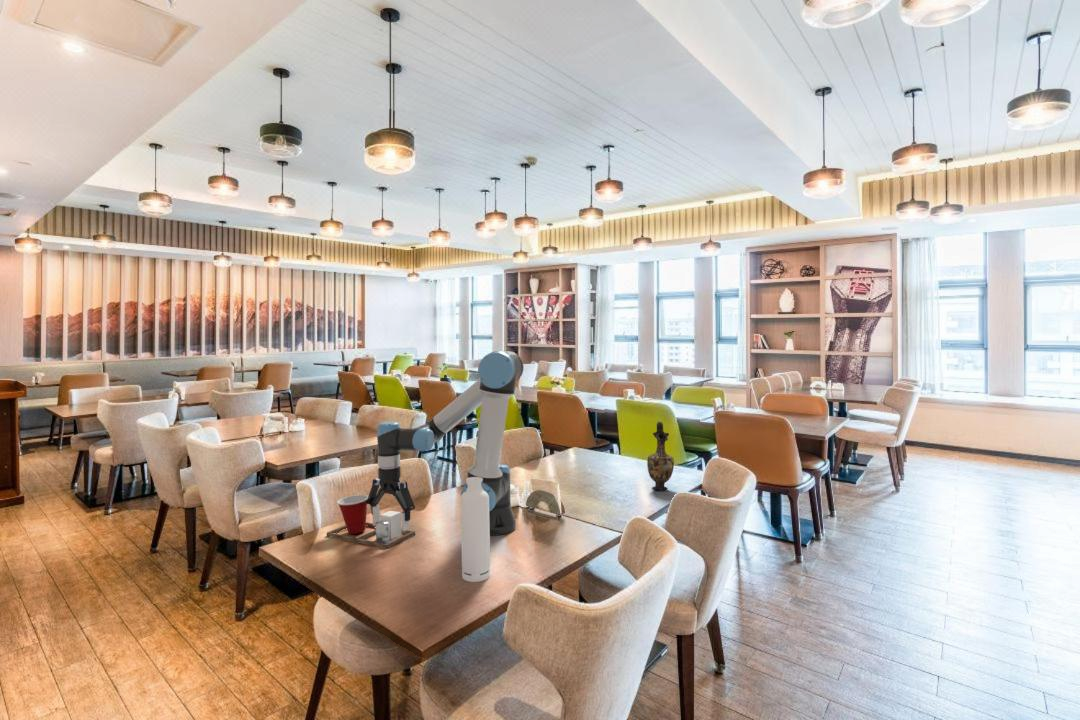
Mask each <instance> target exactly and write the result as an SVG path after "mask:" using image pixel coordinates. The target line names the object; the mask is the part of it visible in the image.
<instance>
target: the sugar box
mask: <svg viewBox="0 0 1080 720" xmlns="http://www.w3.org/2000/svg"><path fill="white" fill-rule="evenodd" d="M381 520H388V521H389V529H390V541H393V540H395V538H396V539H397V538H399V537H402V536H403V533H402V532H401V529H402V512H400V511H396V510H395V511H393V510H389V511H386V512H384V513H380V521H381Z"/></svg>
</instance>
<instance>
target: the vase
mask: <svg viewBox="0 0 1080 720" xmlns="http://www.w3.org/2000/svg"><path fill="white" fill-rule="evenodd" d="M652 435H653V436H654V438H656V450H655V452H654V453H651V454H650V455H648V457H647V463H646V464H647V465H646V466H647V472H648V475H649V477H650V479H651V480H652V481H653V482H654V484H655V485H654V486H652V487H651V489H652V490H653V489H654V490H653V491H655V490H659V491H658V492H666V491H665V490H667V489H668V487H667V486H665V484H666V483H667V482H669V480H670V479H671V478H672V475H673V472H674V468H675V467H674V466H675V461H674V457H673V456H671V455H670V454H668V453H667V452H666V442H667V441H668V440H669V438H668V437H669V436H670V434H669V432H664V424H663V422H662V421H657V422H656V431H655V432H654V431H653V432H652ZM668 490H669V489H668ZM668 490H667V491H668Z"/></svg>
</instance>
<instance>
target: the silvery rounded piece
mask: <svg viewBox="0 0 1080 720" xmlns="http://www.w3.org/2000/svg"><path fill="white" fill-rule="evenodd" d="M375 526H376V528H375V530H376V535H375V542H377V543H382V544H387V543H389V542H391V540H390V529H389V521H388V520H381V521H377V522H376V523H375Z"/></svg>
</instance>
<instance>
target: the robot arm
mask: <svg viewBox="0 0 1080 720" xmlns="http://www.w3.org/2000/svg"><path fill="white" fill-rule="evenodd" d="M477 367H478V368H477V375H478V378H479V379H477V380H476V381H475V382H474V383H473V384H471V385H470V386H468V388H466V390H464V391H463V392H462V393H461V394H459V396H457V397H455V399H453V401H451V402H450V403H449V404H448V405H447V406H446V407H443V409H441V410H440V411H439V412H438V413H437V414H435V415H434V416H433V417H432V418H431V419H430V420H428V421H427V422H426V423H425V424H422V425H420V426H417V427H413V428H401V425H400V423H399V422H398V421H383V422H380V423H379V424H377V432H376V434H377V435H376V438H377V439H376V440H377V467H378V469H377V475H378V478H377V477H376V478H374V479H372V486H371V489H370V492H369V493H368V499H367V502H366V503H367V505H370V511H371V516H372V523H373V525H374V526H375V523H376V522H377V521H380V515H381V511H380V510H381V508H380V507H381V506H380V504H379V503H380V501H381V500H382V498H383V497H384V496H385V495H386V494H389V495H392V496H393V497H395V499H396V500H397V502H398V504H399V505H400V507H401V509H402V512H401V529H402V531H406V530H410V520H411V511H413V510H415V509H416V506H415V503H414V501H413V498H412V496H411V493H410V490H409V487H408V486H409V485H408V481H403V482H401V481H400V479H401V475H402V474H401V473H402V472H401V466H400V465H401V451H413V452H414V451H416V452H424V451H425V452H426V451H427V452H428V451H430V450H432V448H433V447H434V445H435V443H437V442H439V441H440V440H442V439H443V438H444V436H445V435H446V434H447V433H449V431H451V430H452V429H454V427H456V426H457V425H458V424H459V423H460V422H462V421H463V420H464V419H466V418H467V417H468V416H469V415H470V414H471V413H473V412H474V411H475V410H476V409H477V408H479V407H481V408H480V416H479V423H478V430H477V435H476V436H477V437H476V444H475V452H474V459H473V463H472V464H473V465H472V466H470V467H469V468H468V470H467V476H466V479H467V478H470V477H481V478H483V481H482V482H481V486H482V488H483V491H485V492H487V494H488V496H489V527H490V536H499V535H501V536H502V535H506V534H509V533H512V532H513V531H514V530H515V529H516V528H517V522H516V519H515V515H514V513H513V509H512V506H511V475H512V474H511V469H510V467H509V465H507V464H501V455H502V448H503V442H504V436H505V435H504V434H505V428H506V421H507V420H506V419H507V414H508V407H509V400H510V398H511V397H512V396H513V395H515V390H516V383H517V381H518V380H519V379H521V377H522V376H523V373H524V362H523V360H522V358H521V357H520V356H519V354H517V353H515V352H514V351H512V350H495V351H492V352H489V353H488V354H486V355H484V356H483V357H482V359H480V362H479V363H478V366H477ZM465 482H466V481H465ZM467 487H468V485H467V482H466V483H465V484H464V485H463V487H462V489H461V492H460V496H461V495H462V494H463V493H464V492H465V491H466V489H467Z"/></svg>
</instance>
